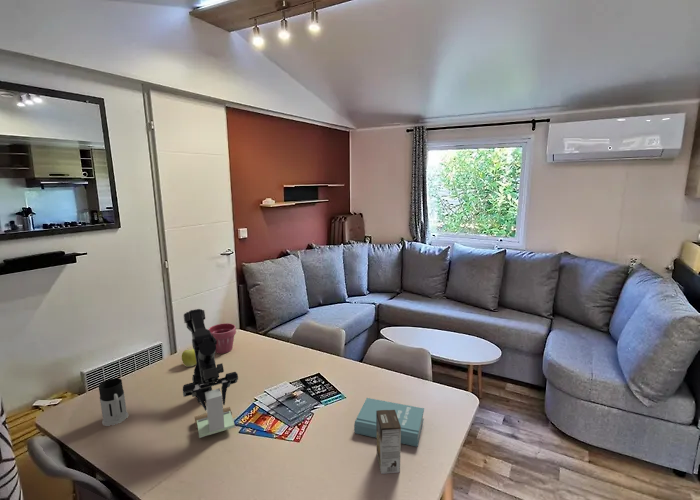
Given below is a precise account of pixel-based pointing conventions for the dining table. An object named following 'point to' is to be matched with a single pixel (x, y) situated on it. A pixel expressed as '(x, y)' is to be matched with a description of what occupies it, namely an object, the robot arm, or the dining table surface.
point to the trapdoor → (204, 430)
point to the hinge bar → (206, 415)
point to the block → (214, 410)
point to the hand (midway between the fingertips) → (215, 407)
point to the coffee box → (388, 441)
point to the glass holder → (112, 402)
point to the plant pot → (223, 337)
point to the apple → (189, 358)
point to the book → (406, 415)
